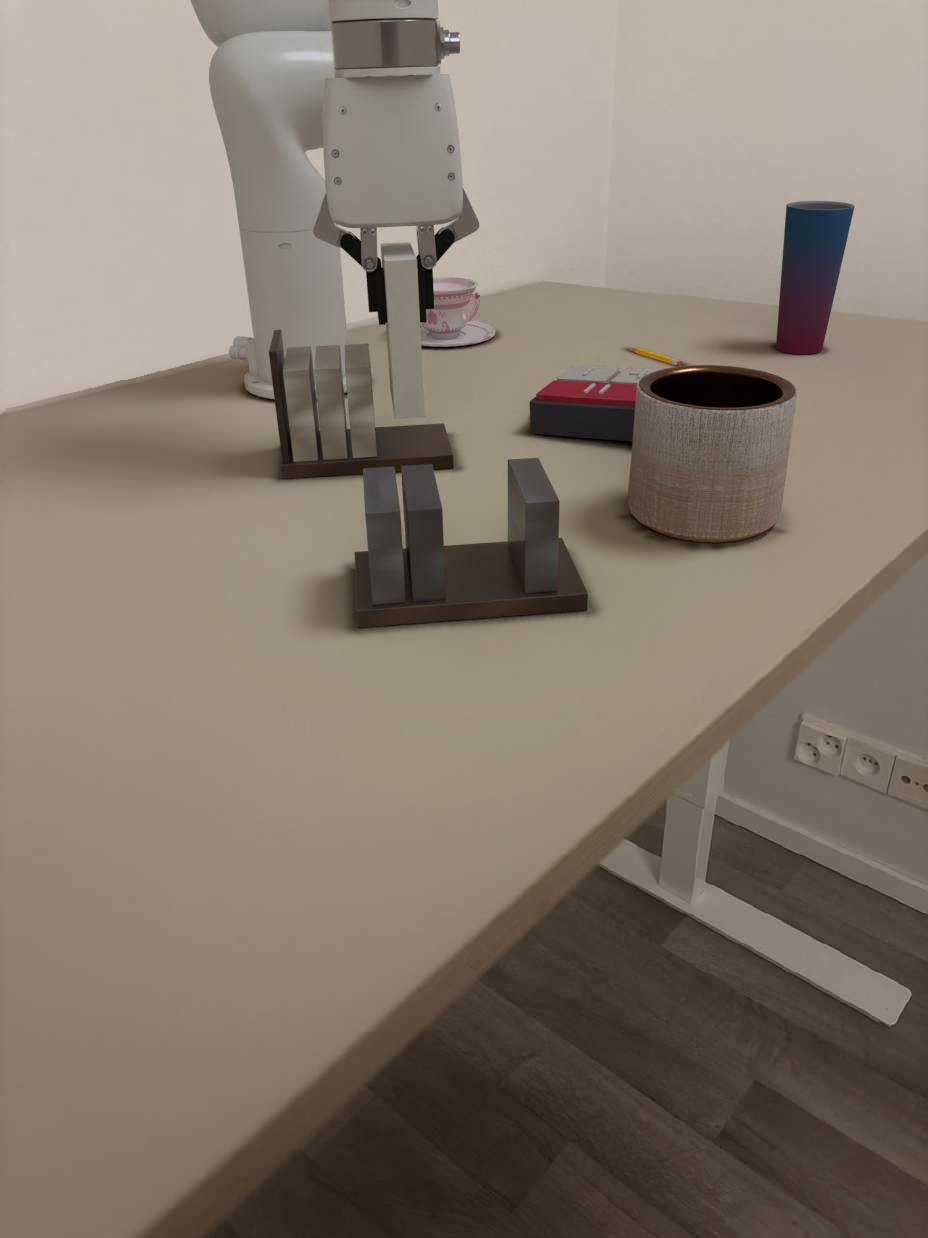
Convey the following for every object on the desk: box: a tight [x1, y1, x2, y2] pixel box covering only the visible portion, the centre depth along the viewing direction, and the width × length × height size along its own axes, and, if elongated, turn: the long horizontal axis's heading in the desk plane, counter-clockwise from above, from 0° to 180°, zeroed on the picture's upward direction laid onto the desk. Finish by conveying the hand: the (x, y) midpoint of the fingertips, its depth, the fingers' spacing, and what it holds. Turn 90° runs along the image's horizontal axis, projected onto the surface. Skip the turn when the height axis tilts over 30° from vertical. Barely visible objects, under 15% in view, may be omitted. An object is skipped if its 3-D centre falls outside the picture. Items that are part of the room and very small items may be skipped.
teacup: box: [420, 276, 496, 348], centre depth 116 cm, size 12×12×6 cm
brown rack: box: [269, 330, 454, 480], centre depth 80 cm, size 14×8×10 cm, turn 96°
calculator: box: [528, 364, 663, 443], centre depth 87 cm, size 11×4×15 cm
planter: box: [627, 364, 798, 544], centre depth 68 cm, size 11×11×10 cm
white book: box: [380, 241, 426, 420], centre depth 78 cm, size 2×8×12 cm, turn 6°
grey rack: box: [353, 457, 589, 628], centre depth 60 cm, size 14×8×7 cm, turn 96°
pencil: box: [627, 347, 684, 367], centre depth 107 cm, size 1×9×1 cm, turn 33°
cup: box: [775, 200, 855, 355], centre depth 105 cm, size 7×7×15 cm
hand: (401, 317), depth 77 cm, fingers closed on white book, 2 cm apart
